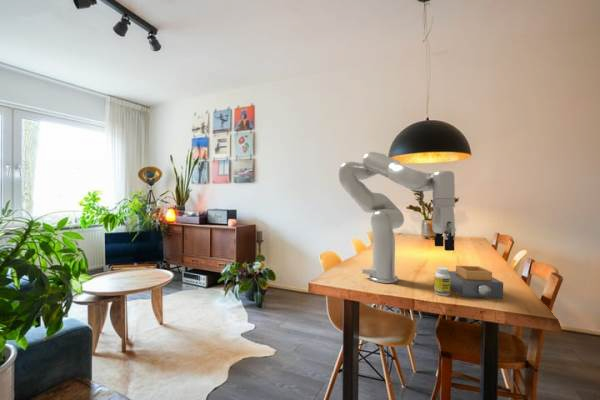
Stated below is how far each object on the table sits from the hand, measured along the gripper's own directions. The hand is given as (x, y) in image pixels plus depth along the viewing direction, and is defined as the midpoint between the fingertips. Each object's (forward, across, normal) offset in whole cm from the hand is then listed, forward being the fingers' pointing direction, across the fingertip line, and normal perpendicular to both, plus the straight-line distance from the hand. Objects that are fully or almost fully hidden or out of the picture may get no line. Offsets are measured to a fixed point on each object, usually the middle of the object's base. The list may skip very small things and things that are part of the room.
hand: (444, 248), depth 105 cm
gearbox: (+18, -5, +12) cm, 22 cm away
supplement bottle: (+18, -1, -1) cm, 18 cm away
